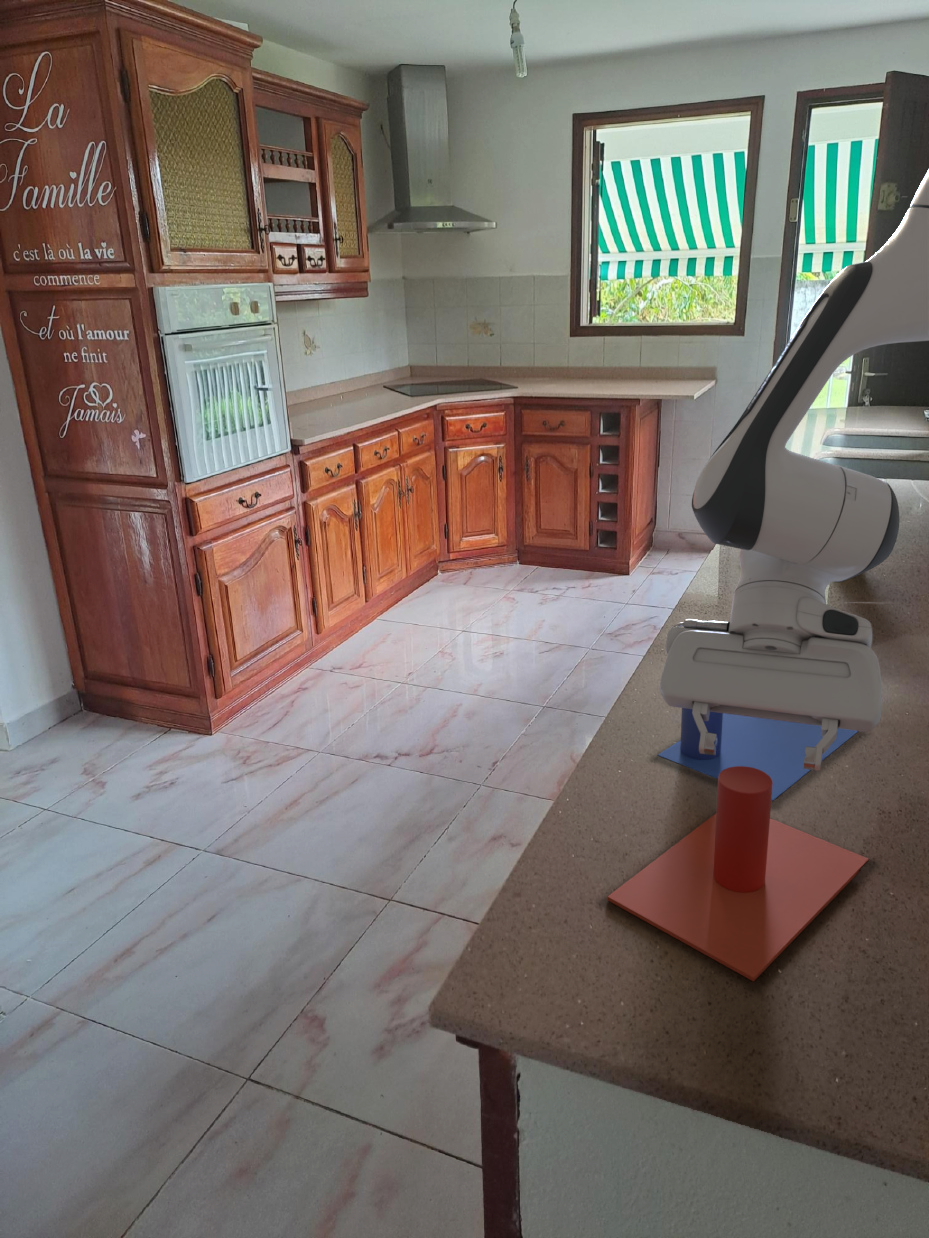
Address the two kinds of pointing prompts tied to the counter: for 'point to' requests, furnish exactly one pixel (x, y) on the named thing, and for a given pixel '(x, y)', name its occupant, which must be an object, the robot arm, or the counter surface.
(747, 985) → the counter surface
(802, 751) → the blue mat
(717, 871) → the red cylinder
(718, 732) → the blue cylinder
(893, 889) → the counter surface
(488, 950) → the counter surface
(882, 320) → the robot arm
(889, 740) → the counter surface
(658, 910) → the terracotta mat
